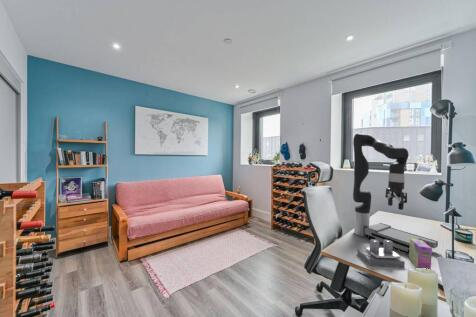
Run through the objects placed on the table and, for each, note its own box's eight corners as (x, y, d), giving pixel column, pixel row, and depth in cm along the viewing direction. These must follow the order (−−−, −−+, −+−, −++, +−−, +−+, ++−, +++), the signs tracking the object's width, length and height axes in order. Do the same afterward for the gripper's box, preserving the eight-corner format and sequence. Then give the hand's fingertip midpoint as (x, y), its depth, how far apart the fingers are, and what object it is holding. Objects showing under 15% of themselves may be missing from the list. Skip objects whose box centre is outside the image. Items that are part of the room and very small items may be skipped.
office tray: (422, 260, 113) (423, 246, 112) (364, 238, 141) (364, 227, 140) (437, 252, 123) (437, 239, 122) (380, 233, 151) (380, 222, 150)
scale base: (357, 254, 118) (357, 248, 118) (388, 255, 117) (388, 249, 117) (369, 265, 106) (369, 259, 106) (404, 267, 105) (404, 260, 105)
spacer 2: (381, 249, 114) (381, 239, 114) (389, 250, 114) (389, 239, 114) (386, 253, 110) (387, 243, 109) (394, 254, 109) (395, 243, 109)
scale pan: (365, 249, 117) (366, 247, 117) (388, 250, 116) (388, 248, 116) (375, 257, 108) (375, 255, 108) (400, 258, 107) (400, 256, 107)
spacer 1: (368, 249, 114) (368, 239, 114) (375, 249, 114) (376, 239, 114) (372, 253, 110) (373, 242, 110) (380, 253, 110) (381, 242, 110)
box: (431, 270, 103) (432, 247, 103) (417, 267, 105) (418, 245, 105) (421, 260, 113) (422, 239, 112) (408, 258, 115) (409, 238, 114)
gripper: (381, 179, 126) (380, 204, 127) (398, 182, 112) (397, 210, 112) (394, 179, 126) (393, 204, 126) (412, 182, 112) (411, 211, 112)
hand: (395, 207), depth 119 cm, fingers open, 8 cm apart
